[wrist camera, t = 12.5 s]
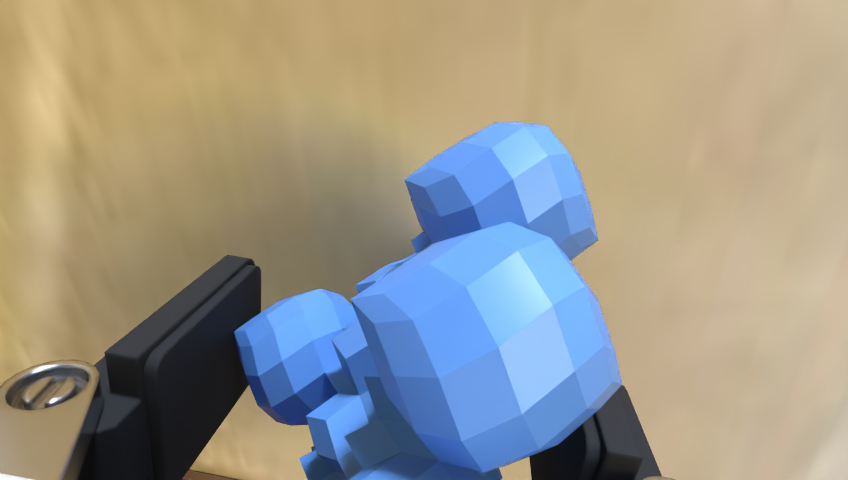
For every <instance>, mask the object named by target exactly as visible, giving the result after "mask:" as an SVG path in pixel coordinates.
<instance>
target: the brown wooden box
mask: <svg viewBox="0 0 848 480" xmlns="http://www.w3.org/2000/svg"><path fill="white" fill-rule="evenodd" d="M182 480H235V479H230V478H225V477H220V476H215V475H211V474H206V473H201V472H196V471H191V470H188V471H187V473H186V474H185V476H184V477H183V478H182Z"/></svg>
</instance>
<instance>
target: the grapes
mask: <svg viewBox="0 0 848 480" xmlns="http://www.w3.org/2000/svg"><path fill="white" fill-rule="evenodd" d="M405 183H406V186H407V188H408V191H409V194H410V197H411V201H412V204H413V207H414V209H415V212H416V215H417V218H418V221H419V223H420V225H421V227H422V229H423V231H424V232H423V233H421V234H420V235H418V236H417V237H415V238H414V239H412V240H411V241H412V244H413V246H414V249H415V253H414V254H412V255H411V256H409V257H408V258H406V259H404V260H400V261H397V262H394V263H391V264H387V265H386V266H384V267H382V268H380V269H379V270H377V271H376V272H374V273H373V274H371V275H370V276H369V277H367V278H366V279H364V280H363V281H361V282H360V283H358V284H357V285H356V288H357V290H358V293H359V294H358V295H356V296H355V297H353V298H352V299H351V302H352V304H353V306H352V305H351V304H350V303H349V302H348V301H347V300H346V299H345V298H344V297H343V296H342V295H340V294H337V293H334V292H331V291H327V290H324V289H317V290H313V291H308V292H305V293H302V294H298V295H295V296H292V297H289V298H286V299H282V300H280V301H278V302H276V303H275V304H273V305H272V306H270V307H269V308H267V309H266V310H264V311H263V312H261V313H259V314H258V315H256V316H255V317H253V318H252V319H251V320H249V321H248V322H246V323H245V324H244V325H242V326H241V327H239V328H238V329H237V330H235V331H234V335H235V340H236V344H237V349H238V354H239V358H240V361H241V364H242V367H243V369H244V372H245V375H246V378H247V380H248V383H249V385H250V388H251V390H252V392H253V395H254V397H255V400H256V402H257V405H258V406H259V407H260V408H262V409H263V410H264V411H265V412H266V413H267V414H268V415H270V416H271V417H272V418H273V419H274V420H275V421H276V422H280V423H283V424H287V425H309V429H310V432H311V436H312V440H313V443H314V446H313V447H311V448H312V452H311V453H309V454H307V455H305V456H303V457H301V458H299V459H300V461H301V464H302V466H303V469H304V471H305V474H306V476H307V479H308V480H501V479H502V475H501V473H500V470H499V468H500V467H503V466H506V465H509V464H512V463H514V462H516V461H519V460H521V459H524V458H526V457H529V456H531V455H534V454H536V453H539V452H541V451H544V450H546V449H549V448H551V447H553V446H556V445H558V444H559V443H561V442H562V441H563V440H564V439H565V438H566V437H567V436H569V435H570V434H571V433H572V432H573V431H574V430H576V429H577V428H578V427H579V426H580V425H581V424H583V423H584V422H585V421H586V420H587V419H588V418H590V417H591V416H592V415H593V414H594V413H595V412H597V411H598V410H599V409H600V408H601V407H602V406H603V405H604V404H605V403H606V401H607V400H608V399H609V398H610V397H611V396H612V395H613V394H614V393H615V392H616V391H617V390H618V388H619V387H620V386H621V385H622V381H621V377H620V372H619V368H618V363H617V359H616V354H615V350H614V347H613V344H612V341H611V338H610V335H609V332H608V329H607V326H606V323H605V320H604V317H603V314H602V311H601V308H600V305H599V302H598V299H597V298H596V296H595V295H594V294H593V292H592V291H591V289H590V288H589V286H588V285H587V284H586V282H585V281H584V279H583V278H582V277H581V275H580V274H579V272H578V271H577V270H576V268H575V267H574V265H573V264H572V262H571V260H572V259H574V258H575V257H576V256H578V255H579V254H580V253H582V252H583V251H584V250H586V249H587V248H588V247H590V246H591V245H592V244H594V243H595V242H596V241H598V237H597V232H596V227H595V222H594V217H593V212H592V208H591V205H590V202H589V199H588V196H587V193H586V190H585V187H584V184H583V181H582V178H581V175H580V172H579V170H578V168H577V166H576V164H575V163H574V161H573V159H572V157H571V155H570V153H569V152H568V151H567V149H566V148H565V147H564V146H563V145H562V143H561V142H560V141H559V140H558V139H557V137H556V136H555V135H554V134H553V133H552V131H551V130H550V129H549V128H548V127H547V126H545V125H536V124H528V123H520V122H504V123H494V124H492V125H490V126H488V127H486V128H484V129H482V130H480V131H478V132H476V133H474V134H472V135H470V136H468V137H466V138H464V139H463V140H461V141H459V142H458V143H456V144H455V145H453V146H451V147H450V148H448V149H447V150H445V151H443V152H442V153H440V154H438V155H437V156H435V157H434V158H432V159H431V160H430V161H429V162H427V163H426V164H425V165H423V166H422V167H421V168H419V169H418V170H417V171H415V172H414V173H413V174H411V175H410V176H409V177H407V178H406V179H405Z"/></svg>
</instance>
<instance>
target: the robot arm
mask: <svg viewBox="0 0 848 480" xmlns="http://www.w3.org/2000/svg"><path fill="white" fill-rule="evenodd" d="M259 313H261V270H260V267H258V266H255V264H254V261H253V260H252V259H248V258H242V257H237V256H231V255H227V256H225V257H224V258H222V259H221V260H220V261H219V262H217V263H216V264H215V265H214V266H212V267H211V268H210V269H209V270H207V271H206V272H205V273H204V274H202V275H201V276H200V277H198V278H197V279H196V280H195V281H193V282H192V283H191V284H190V285H188V286H187V287H186V288H185V289H183V290H182V291H181V292H180V293H178V294H177V295H176V296H175V297H173V298H172V299H171V300H170V301H168V302H167V303H166V304H164V305H163V306H162V307H161V308H159V309H158V310H157V311H156V312H154V313H153V314H152V315H151V316H149V317H148V318H147V319H146V320H144V321H143V322H142V323H141V324H139V325H138V326H137V327H136V328H134V329H133V330H132V331H130V332H129V333H128V334H127V335H125V336H124V337H123V338H122V339H120V340H119V341H118V342H117V343H115V344H114V345H113V346H112V347H110V348H109V349H108V350H107V351H105V357H104V358H102V359H101V360H100V361H99V362H97V363H96V364H95V365H94V366H93V365H91V364H90V363H88V362H84V361H79V360H59V361H52V362H46V363H43V364H40V365H36V366H33V367H30V368H28V369H26V370H23V371H21V372H19V373H17V374H15V375H14V376H12V377H11V378H9V379H8V380H6V381H5V382H4V383H3V384H2V385H1V386H0V480H182V478H183V477H184V476H185V474H186V473H187V471H188V470H189V468H190V467H191V466H192V464H193V463H194V461H195V460H196V459H197V457H198V456H199V454H200V453H201V452H202V450H203V449H204V447H205V446H206V444H207V443H208V442H209V440H210V439H211V437H212V436H213V435H214V433H215V432H216V430H217V429H218V427H219V426H220V425H221V423H222V422H223V420H224V419H225V418H226V416H227V415H228V413H229V412H230V411H231V409H232V408H233V406H234V405H235V403H236V402H237V401H238V399H239V398H240V396H241V395H242V394H243V392H244V391H245V389H246V388H247V387H248V385H249V383H248V380H247V378H246V375H245V372H244V369H243V367H242V364H241V361H240V358H239V354H238V349H237V344H236V340H235V335H234V331H235V330H237V329H238V328H239V327H241V326H242V325H244V324H245V323H246V322H248V321H249V320H251V319H252V318H253V317H255V316H256V315H258V314H259ZM529 457H530V466H531V476H532V480H675V479H672V478H667V477H662V476H661V473H660V471H659V468H658V466H657V463H656V461H655V458H654V456H653V454H652V451H651V449H650V446H649V444H648V441H647V439H646V436H645V434H644V431H643V429H642V427H641V424H640V422H639V419H638V417H637V414H636V412H635V409H634V407H633V405H632V402H631V400H630V397H629V395H628V392H627V390H626V389H625V387H624V386H623V385H621V386H620V387H619V388H618V390H617V391H616V392H615V393H614V394H613V395H612V396H611V397H610V398H609V399H608V400H607V401H606V403H605V404H604V405H603V406H602V407H601V408H600V409H599V410H598V411H597V412H595V413H594V414H593V415H592V416H591V417H590V418H588V419H587V420H586V421H585V422H584V423H583V424H581V425H580V426H579V427H578V428H577V429H576V430H574V431H573V432H572V433H571V434H570V435H569V436H567V437H566V438H565V439H564V440H563V441H562V442H561V443H559V444H558V445H556V446H553V447H551V448H549V449H546V450H544V451H541V452H539V453H536V454H534V455H531V456H529Z"/></svg>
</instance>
